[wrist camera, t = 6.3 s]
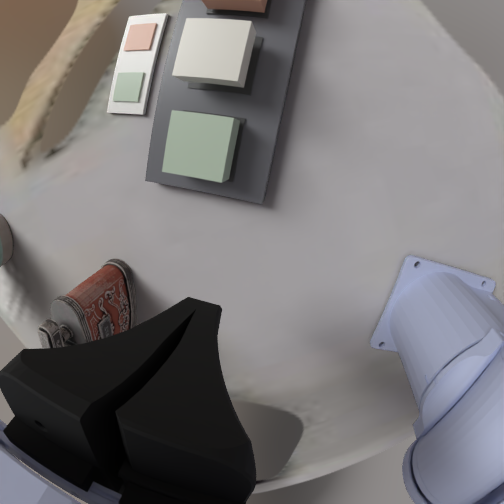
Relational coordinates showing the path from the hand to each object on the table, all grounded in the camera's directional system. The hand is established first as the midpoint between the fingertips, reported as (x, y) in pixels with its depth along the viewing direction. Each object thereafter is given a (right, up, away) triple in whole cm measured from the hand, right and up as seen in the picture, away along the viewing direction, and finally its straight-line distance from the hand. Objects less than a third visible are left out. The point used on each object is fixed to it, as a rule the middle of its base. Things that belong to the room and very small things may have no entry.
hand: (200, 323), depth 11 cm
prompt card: (-6, +16, +6) cm, 19 cm away
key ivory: (0, +14, +3) cm, 14 cm away
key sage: (-1, +9, +6) cm, 11 cm away
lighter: (-10, -2, +13) cm, 17 cm away
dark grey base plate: (0, +15, +6) cm, 16 cm away
